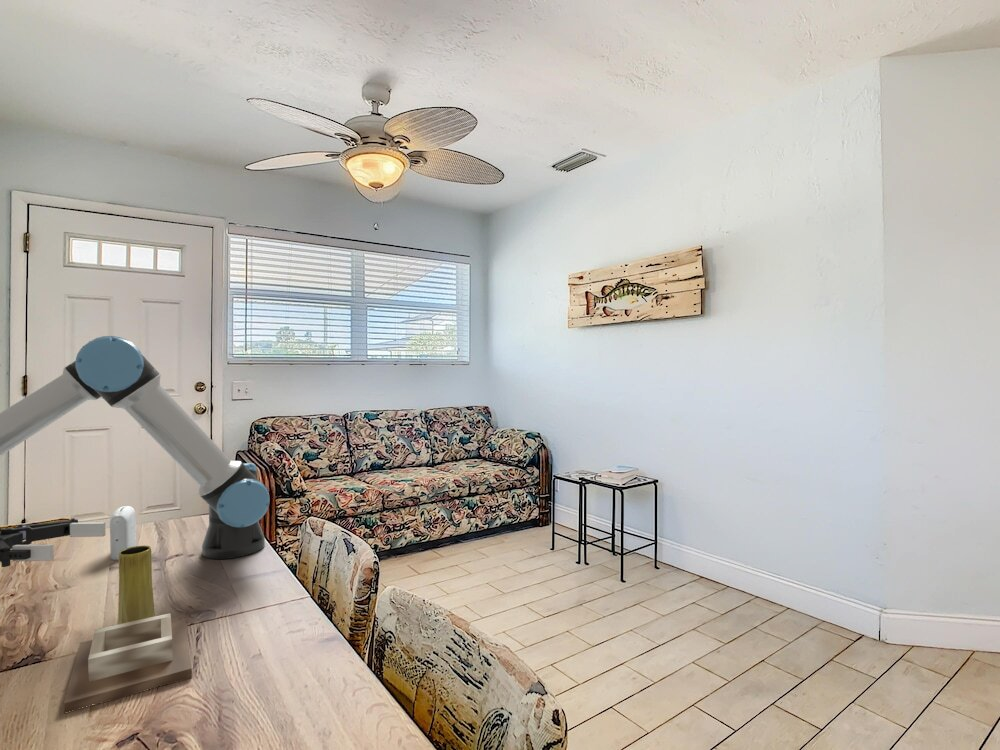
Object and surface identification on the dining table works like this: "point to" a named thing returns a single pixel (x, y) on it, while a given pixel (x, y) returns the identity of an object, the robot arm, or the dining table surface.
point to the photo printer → (122, 530)
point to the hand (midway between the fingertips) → (80, 540)
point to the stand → (129, 660)
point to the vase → (135, 584)
